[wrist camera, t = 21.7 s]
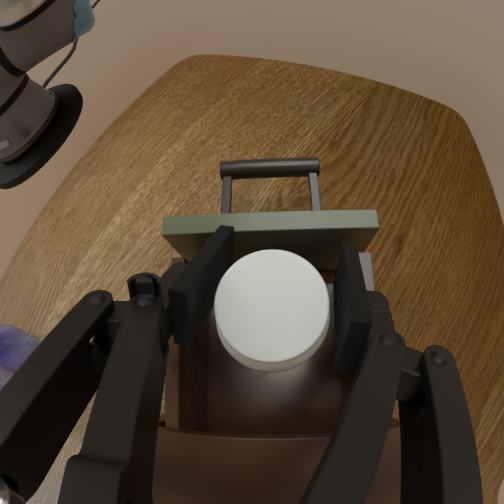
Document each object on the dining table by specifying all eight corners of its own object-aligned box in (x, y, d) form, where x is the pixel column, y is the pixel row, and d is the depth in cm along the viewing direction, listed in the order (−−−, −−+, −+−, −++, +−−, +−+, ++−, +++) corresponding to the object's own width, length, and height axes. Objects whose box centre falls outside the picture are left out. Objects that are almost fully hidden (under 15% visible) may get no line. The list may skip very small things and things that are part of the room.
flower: (29, 273, 20) (-49, 343, 14) (92, 358, 21) (14, 432, 14) (42, 296, 27) (-18, 350, 21) (90, 359, 28) (31, 414, 22)
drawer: (202, 197, 27) (175, 142, 20) (343, 192, 26) (360, 133, 18) (193, 449, 20) (154, 482, 12) (356, 449, 18) (387, 484, 11)
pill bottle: (221, 310, 22) (178, 274, 13) (291, 274, 22) (298, 213, 13) (257, 380, 20) (236, 399, 11) (329, 342, 21) (367, 330, 11)
